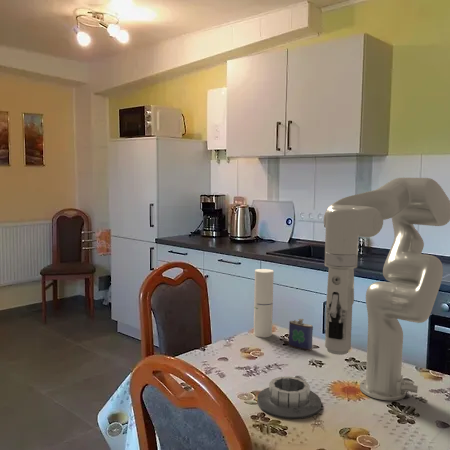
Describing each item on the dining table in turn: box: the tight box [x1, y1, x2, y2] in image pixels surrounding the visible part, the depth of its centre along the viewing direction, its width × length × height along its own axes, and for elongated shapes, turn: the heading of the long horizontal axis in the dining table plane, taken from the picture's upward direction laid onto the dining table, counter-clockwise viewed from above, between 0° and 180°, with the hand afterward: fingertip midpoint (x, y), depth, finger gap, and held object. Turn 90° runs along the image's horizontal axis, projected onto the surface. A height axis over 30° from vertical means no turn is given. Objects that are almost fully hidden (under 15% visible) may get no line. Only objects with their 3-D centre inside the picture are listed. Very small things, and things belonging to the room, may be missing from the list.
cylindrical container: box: [253, 268, 275, 338], centre depth 185 cm, size 7×7×25 cm
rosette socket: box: [256, 376, 322, 420], centre depth 129 cm, size 17×17×5 cm
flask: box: [288, 318, 314, 352], centre depth 172 cm, size 9×3×11 cm, turn 52°
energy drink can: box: [324, 296, 353, 356], centre depth 115 cm, size 6×6×15 cm
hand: (338, 333), depth 116 cm, fingers closed on energy drink can, 6 cm apart
